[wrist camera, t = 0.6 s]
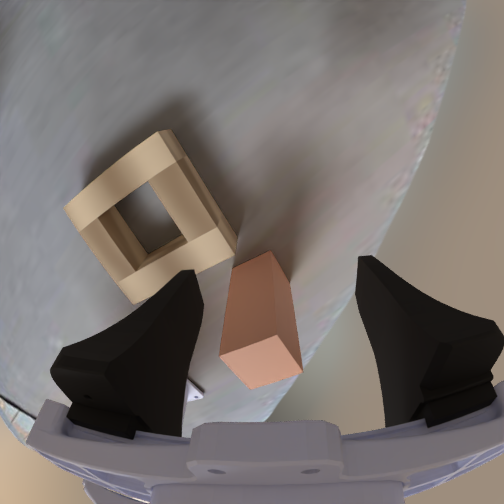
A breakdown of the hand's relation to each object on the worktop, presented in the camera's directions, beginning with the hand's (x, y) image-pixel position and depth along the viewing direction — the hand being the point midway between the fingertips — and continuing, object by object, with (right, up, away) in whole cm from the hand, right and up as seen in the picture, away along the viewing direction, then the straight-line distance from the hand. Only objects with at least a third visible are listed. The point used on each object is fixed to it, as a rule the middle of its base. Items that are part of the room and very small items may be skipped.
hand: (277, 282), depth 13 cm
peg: (0, -1, +12) cm, 12 cm away
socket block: (-9, +4, +10) cm, 14 cm away
